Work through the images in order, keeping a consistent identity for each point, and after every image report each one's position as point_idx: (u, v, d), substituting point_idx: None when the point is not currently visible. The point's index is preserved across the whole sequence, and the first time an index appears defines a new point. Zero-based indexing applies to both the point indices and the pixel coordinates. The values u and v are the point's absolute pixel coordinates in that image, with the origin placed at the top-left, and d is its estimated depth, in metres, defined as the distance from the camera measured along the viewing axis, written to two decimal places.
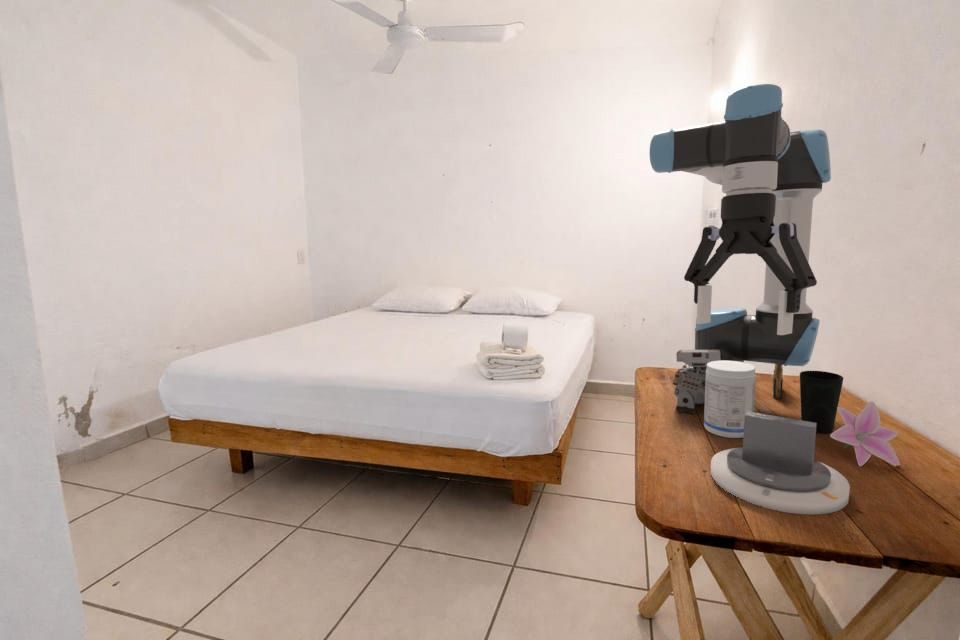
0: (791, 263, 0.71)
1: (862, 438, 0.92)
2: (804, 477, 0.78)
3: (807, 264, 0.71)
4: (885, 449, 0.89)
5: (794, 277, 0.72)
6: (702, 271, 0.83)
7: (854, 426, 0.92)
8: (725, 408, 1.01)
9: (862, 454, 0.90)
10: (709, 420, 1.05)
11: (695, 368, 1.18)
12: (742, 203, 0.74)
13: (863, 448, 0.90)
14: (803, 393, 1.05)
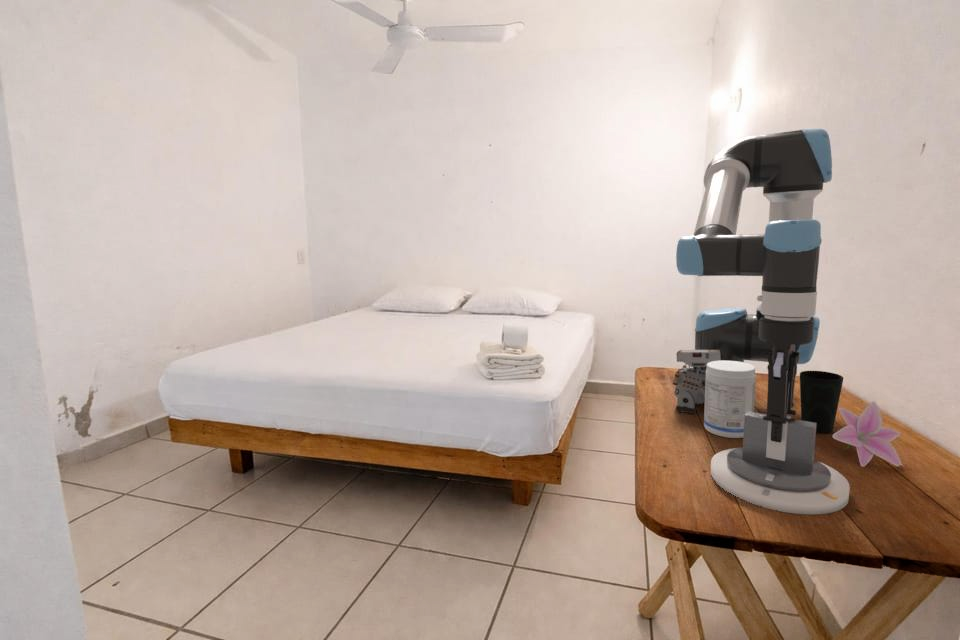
0: None
1: (864, 438, 0.92)
2: (804, 477, 0.78)
3: (781, 405, 0.77)
4: (888, 449, 0.89)
5: None
6: None
7: (856, 426, 0.92)
8: (725, 408, 1.01)
9: (865, 454, 0.89)
10: (709, 420, 1.05)
11: (695, 368, 1.18)
12: (759, 326, 0.81)
13: (865, 449, 0.90)
14: (803, 393, 1.05)
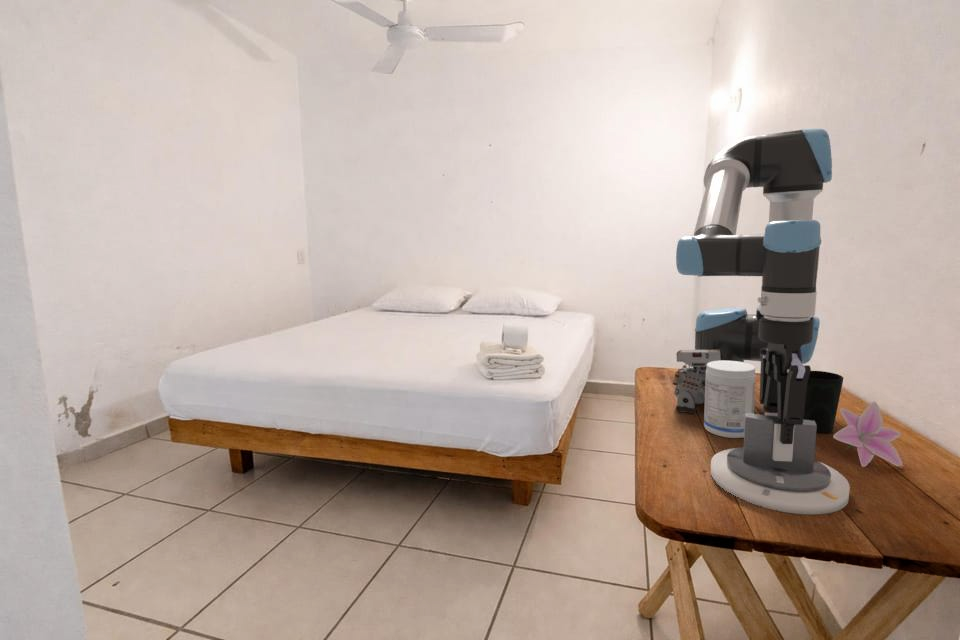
0: (785, 399, 0.77)
1: (865, 439, 0.92)
2: (808, 475, 0.79)
3: (801, 406, 0.76)
4: (888, 450, 0.89)
5: None
6: (765, 395, 0.84)
7: (857, 427, 0.92)
8: (725, 408, 1.01)
9: (865, 455, 0.89)
10: (709, 420, 1.05)
11: (695, 368, 1.18)
12: (765, 329, 0.79)
13: (866, 449, 0.90)
14: None
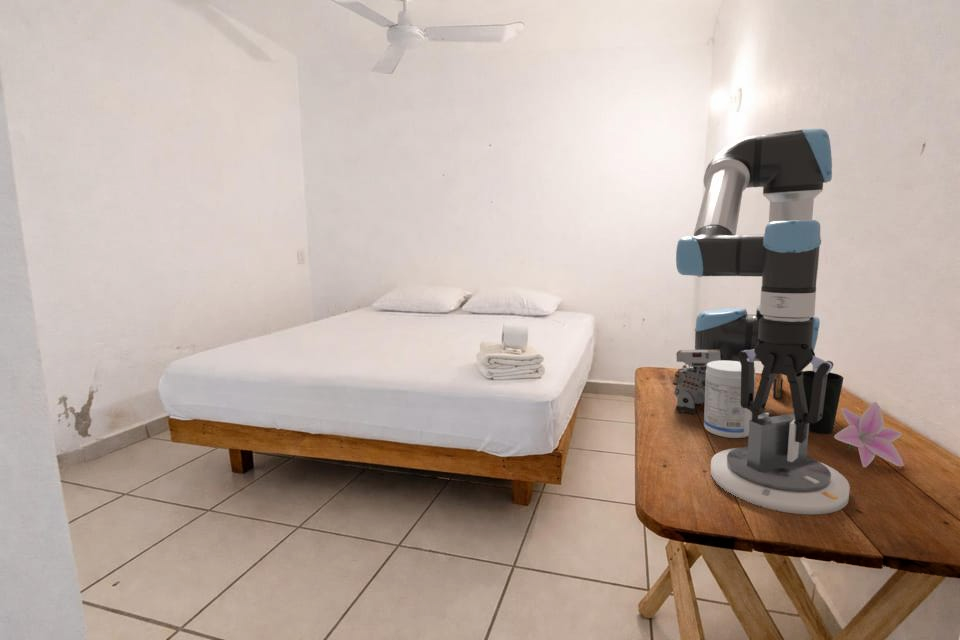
0: (812, 398, 0.77)
1: (866, 439, 0.92)
2: (810, 467, 0.82)
3: (823, 402, 0.77)
4: (889, 450, 0.89)
5: (806, 411, 0.79)
6: (756, 398, 0.83)
7: (858, 427, 0.92)
8: (725, 408, 1.01)
9: (866, 455, 0.89)
10: (709, 420, 1.05)
11: (695, 368, 1.18)
12: (786, 331, 0.76)
13: (867, 449, 0.90)
14: None
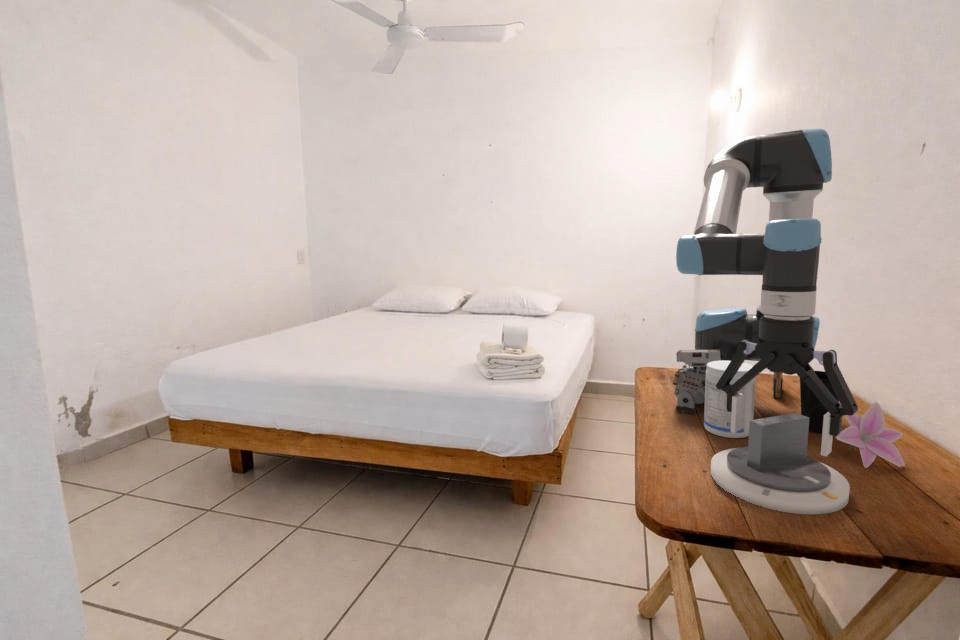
0: (835, 391, 0.74)
1: (867, 439, 0.92)
2: (810, 466, 0.82)
3: (849, 391, 0.75)
4: (891, 450, 0.89)
5: (835, 401, 0.76)
6: (737, 383, 0.85)
7: (859, 427, 0.92)
8: (725, 408, 1.01)
9: (868, 455, 0.89)
10: (709, 420, 1.05)
11: (695, 368, 1.18)
12: (787, 330, 0.76)
13: (868, 449, 0.90)
14: (803, 393, 1.05)
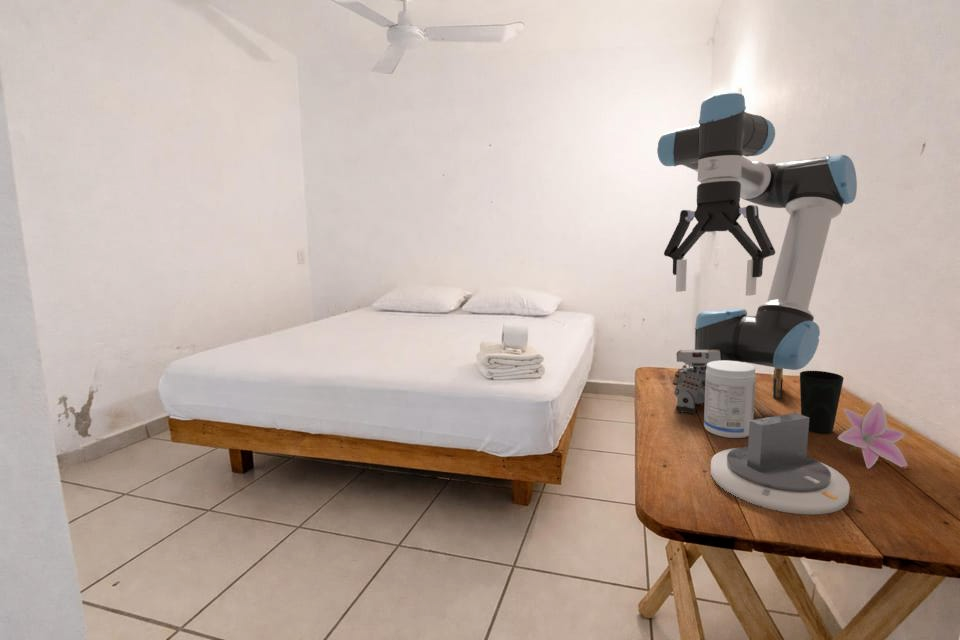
0: (756, 237, 0.89)
1: (869, 440, 0.91)
2: (810, 466, 0.82)
3: (767, 238, 0.89)
4: (893, 451, 0.89)
5: (757, 249, 0.90)
6: (680, 247, 1.00)
7: (861, 428, 0.91)
8: (725, 408, 1.01)
9: (870, 456, 0.89)
10: (709, 420, 1.05)
11: (695, 368, 1.18)
12: (717, 189, 0.91)
13: (870, 450, 0.89)
14: (803, 393, 1.05)
